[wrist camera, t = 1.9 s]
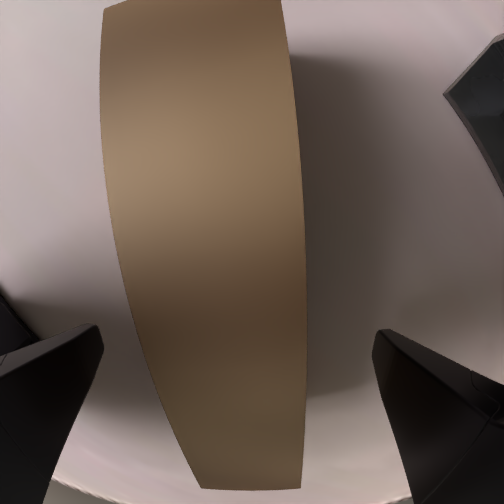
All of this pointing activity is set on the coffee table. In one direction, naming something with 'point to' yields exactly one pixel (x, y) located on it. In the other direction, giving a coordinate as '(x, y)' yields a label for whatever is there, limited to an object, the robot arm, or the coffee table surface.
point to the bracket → (484, 104)
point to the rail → (211, 227)
